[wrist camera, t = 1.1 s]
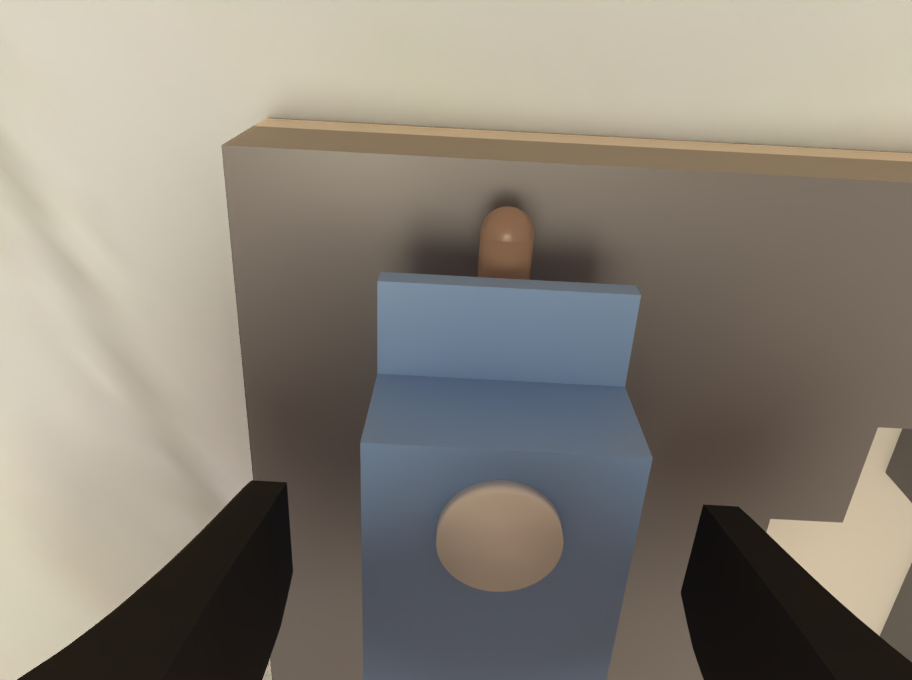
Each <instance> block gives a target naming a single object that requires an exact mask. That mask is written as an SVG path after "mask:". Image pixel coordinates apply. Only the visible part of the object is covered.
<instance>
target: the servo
mask: <svg viewBox="0 0 912 680" xmlns="http://www.w3.org/2000/svg"><path fill="white" fill-rule="evenodd" d="M533 242H534V227H533V224H532V222H531V220H530V218H529V217H528V215H527V214H526V213H524V212H523V211H522V210H520V209H518V208H515V207H510V206H505V207H500V208H497V209H495V210H493V211H492V212H490V213H489V214H488V215H487V216H486V218H485V219H484V221H483V223H482V226H481V231H480V245H479V260H478V275H477V277H468V276H449V275H430V274H412V273H393V272H380V275H379V278H378V281H377V377H376V381H375V385H374V389H373V393H372V397H371V401H370V405H369V410H368V414H367V418H366V422H365V426H364V430H363V434H362V438H361V442H360V462H361V544H362V625H363V680H607V675H608V670H609V665H610V661H611V656H612V651H613V646H614V641H615V637H616V632H617V627H618V622H619V618H620V613H621V608H622V603H623V598H624V594H625V589H626V584H627V579H628V574H629V570H630V565H631V560H632V555H633V550H634V546H635V541H636V536H637V531H638V526H639V522H640V517H641V512H642V507H643V502H644V498H645V493H646V488H647V483H648V478H649V474H650V469H651V464H652V459H653V457H652V455H651V452H650V450H649V447H648V445H647V442H646V439H645V437H644V434H643V432H642V429H641V427H640V424H639V422H638V419H637V417H636V414H635V411H634V409H633V406H632V404H631V401H630V399H629V396H628V394H627V391H626V388H625V384H626V378H627V372H628V367H629V361H630V355H631V350H632V344H633V339H634V333H635V327H636V322H637V316H638V310H639V305H640V299H641V294H640V292H639V290H638V289H637V287H636V285H618V284H599V283H580V282H561V281H543V280H530V271H531V262H532V252H533Z"/></svg>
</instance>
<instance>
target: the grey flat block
mask: <svg viewBox="0 0 912 680" xmlns="http://www.w3.org/2000/svg"><path fill="white" fill-rule="evenodd" d="M222 154H223V165H224V176H225V186H226V197H227V207H228V218H229V228H230V239H231V249H232V260H233V271H234V281H235V292H236V302H237V313H238V323H239V334H240V344H241V355H242V366H243V376H244V387H245V397H246V408H247V418H248V429H249V439H250V450H251V461H252V471H253V480H254V481H273V482H287V491H288V505H289V519H290V533H291V548H292V562H293V575H292V579H291V584H290V588H289V593H288V598H287V602H286V606H285V610H284V615H283V619H282V623H281V627H280V630H279V633H278V636H277V639H276V642H275V645H274V648H273V650H272V653H271V656H270V661H271V672H272V680H363V625H362V544H361V462H360V442H361V438H362V434H363V430H364V426H365V422H366V418H367V414H368V410H369V405H370V401H371V397H372V393H373V389H374V385H375V381H376V377H377V281H378V278H379V275H380V272H393V273H412V274H430V275H449V276H468V277H477V275H478V260H479V245H480V231H481V226H482V223H483V221H484V219H485V218H486V216H487V215H488V214H489V213H490V212H492V211H493V210H495V209H497V208H500V207H505V206H510V207H515V208H518V209H520V210H522V211H523V212H524V213H526V214H527V215H528V217H529V218H530V220H531V222H532V224H533V227H534V242H533V252H532V262H531V271H530V280H543V281H561V282H580V283H599V284H618V285H636V287H637V289H638V290H639V292H640V294H641V299H640V305H639V310H638V316H637V322H636V327H635V333H634V339H633V344H632V350H631V355H630V361H629V367H628V372H627V378H626V384H625V388H626V391H627V394H628V396H629V399H630V401H631V404H632V406H633V409H634V411H635V414H636V417H637V419H638V422H639V424H640V427H641V429H642V432H643V434H644V437H645V439H646V442H647V445H648V447H649V450H650V452H651V455H652V457H653V459H652V464H651V469H650V474H649V478H648V483H647V488H646V493H645V498H644V502H643V507H642V512H641V517H640V522H639V526H638V531H637V536H636V541H635V546H634V550H633V555H632V560H631V565H630V570H629V574H628V579H627V584H626V589H625V594H624V598H623V603H622V608H621V613H620V618H619V622H618V627H617V632H616V637H615V641H614V646H613V651H612V656H611V661H610V665H609V670H608V675H607V680H704V679H703V677H702V674H701V671H700V668H699V665H698V662H697V659H696V656H695V653H694V651H693V647H692V643H691V638H690V634H689V630H688V626H687V621H686V616H685V611H684V607H683V602H682V597H681V589H682V585H683V581H684V577H685V573H686V569H687V565H688V561H689V558H690V554H691V550H692V546H693V542H694V538H695V534H696V530H697V527H698V523H699V519H700V515H701V511H702V507H703V505H721V506H739V507H740V508H741V509H742V510H743V511H744V512H745V513H746V514H747V515H749V516H750V517H751V518H752V519H753V520H754V521H755V522H756V523H757V524H758V525H759V526H760V527H761V528H762V529H763V530H764V531H765V532H766V533H767V534H768V535H769V536H770V537H772V538H773V539H774V540H775V541H776V542H777V543H778V544H779V545H780V546H781V547H782V548H783V549H784V550H785V551H786V552H787V553H788V554H789V555H790V556H791V557H792V558H793V559H794V560H795V561H796V562H797V563H798V564H800V565H801V566H802V567H803V568H804V569H805V570H806V571H807V572H808V573H809V574H810V575H811V576H812V577H813V578H814V579H815V580H816V581H818V582H819V583H820V584H821V585H822V586H823V587H824V588H825V589H826V590H827V591H828V592H829V593H831V594H832V595H833V596H834V597H835V598H836V599H837V600H838V601H839V602H841V603H842V604H843V605H844V606H845V607H846V608H847V609H848V610H850V611H851V612H852V613H853V614H854V615H855V616H856V617H857V618H859V619H860V620H861V621H862V622H863V623H865V624H866V625H867V626H868V627H869V628H871V629H872V630H873V631H874V632H875V633H876V634H878V635H879V636H880V637H881V638H882V639H884V640H885V641H886V642H887V643H888V644H890V645H891V646H892V647H893V648H894V649H896V650H897V651H898V652H899V653H901V654H902V655H903V656H904V657H906V658H907V659H908V660H910V661H911V662H912V153H900V152H882V151H863V150H845V149H826V148H808V147H789V146H771V145H752V144H734V143H716V142H697V141H679V140H660V139H642V138H623V137H605V136H587V135H568V134H550V133H531V132H513V131H494V130H476V129H458V128H439V127H421V126H402V125H384V124H365V123H347V122H328V121H310V120H292V119H273V118H266V119H264V120H263V121H261V122H259V123H258V124H256V125H254V126H253V127H251V128H249V129H248V130H246V131H244V132H243V133H241V134H239V135H238V136H236V137H234V138H233V139H231V140H229V141H228V142H226V143H225V144H223V145H222Z"/></svg>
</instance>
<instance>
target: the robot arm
mask: <svg viewBox="0 0 912 680" xmlns="http://www.w3.org/2000/svg"><path fill="white" fill-rule="evenodd" d="M292 575H293V562H292V548H291V533H290V519H289V505H288V491H287V482H273V481H254V480H252V481H250V482H249V483H248V484H247V485H246V486H245V487H244V488H243V489H242V490H241V491H240V492H239V493H238V494H237V495H236V496H235V497H234V498H233V499H232V500H231V501H230V502H229V503H228V504H227V505H226V506H225V507H224V508H223V510H222V511H221V512H220V513H219V514H218V515H217V516H216V517H215V518H214V519H213V520H212V521H211V522H210V523H209V524H208V525H207V526H206V527H205V528H204V529H203V530H202V531H201V532H200V533H199V534H198V535H197V536H196V537H195V538H194V539H193V540H192V541H191V542H190V543H189V544H188V545H186V546H185V547H184V548H183V549H182V550H181V551H180V552H179V553H178V554H177V555H176V556H175V557H174V558H173V559H172V560H171V561H170V562H169V563H168V564H167V565H166V566H164V567H163V568H162V569H161V570H160V571H159V572H158V573H157V574H155V575H154V576H153V577H152V578H151V579H150V580H149V581H147V582H146V583H145V584H144V585H143V586H142V587H141V588H139V589H138V590H137V591H136V592H135V593H134V594H133V595H131V596H130V597H129V598H128V599H127V600H126V601H125V602H123V603H122V604H121V605H120V606H119V607H117V608H116V609H115V610H114V611H112V612H111V613H110V614H109V615H107V616H106V617H105V618H104V619H102V620H101V621H100V622H99V623H97V624H96V625H95V626H93V627H92V628H91V629H90V630H88V631H87V632H86V633H84V634H83V635H82V636H80V637H79V638H78V639H76V640H75V641H74V642H72V643H71V644H70V645H68V646H67V647H65V648H64V649H63V650H61V651H60V652H58V653H57V654H55V655H54V656H52V657H51V658H49V659H48V660H46V661H45V662H43V663H42V664H40V665H39V666H37V667H36V668H34V669H33V670H31V671H29V672H28V673H26V674H25V675H23V676H22V677H20V678H19V679H17V680H262V679H263V676H264V673H265V670H266V667H267V665H268V662H269V659H270V656H271V653H272V650H273V648H274V645H275V642H276V639H277V636H278V633H279V630H280V627H281V623H282V619H283V615H284V610H285V606H286V602H287V598H288V593H289V588H290V584H291V579H292ZM681 597H682V602H683V607H684V611H685V616H686V621H687V626H688V630H689V634H690V638H691V643H692V647H693V651H694V653H695V656H696V659H697V662H698V665H699V668H700V671H701V674H702V677H703V679H704V680H912V662H911V661H910V660H908V659H907V658H906V657H904V656H903V655H902V654H901V653H899V652H898V651H897V650H896V649H894V648H893V647H892V646H891V645H890V644H888V643H887V642H886V641H885V640H884V639H882V638H881V637H880V636H879V635H878V634H876V633H875V632H874V631H873V630H872V629H871V628H869V627H868V626H867V625H866V624H865V623H863V622H862V621H861V620H860V619H859V618H857V617H856V616H855V615H854V614H853V613H852V612H851V611H850V610H848V609H847V608H846V607H845V606H844V605H843V604H842V603H841V602H839V601H838V600H837V599H836V598H835V597H834V596H833V595H832V594H831V593H829V592H828V591H827V590H826V589H825V588H824V587H823V586H822V585H821V584H820V583H819V582H818V581H816V580H815V579H814V578H813V577H812V576H811V575H810V574H809V573H808V572H807V571H806V570H805V569H804V568H803V567H802V566H801V565H800V564H798V563H797V562H796V561H795V560H794V559H793V558H792V557H791V556H790V555H789V554H788V553H787V552H786V551H785V550H784V549H783V548H782V547H781V546H780V545H779V544H778V543H777V542H776V541H775V540H774V539H773V538H772V537H770V536H769V535H768V534H767V533H766V532H765V531H764V530H763V529H762V528H761V527H760V526H759V525H758V524H757V523H756V522H755V521H754V520H753V519H752V518H751V517H750V516H749V515H747V514H746V513H745V512H744V511H743V510H742V509H741V508H740V507H739V506H721V505H703V507H702V511H701V515H700V519H699V523H698V527H697V530H696V534H695V538H694V542H693V546H692V550H691V554H690V558H689V561H688V565H687V569H686V573H685V577H684V581H683V585H682V589H681Z"/></svg>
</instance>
